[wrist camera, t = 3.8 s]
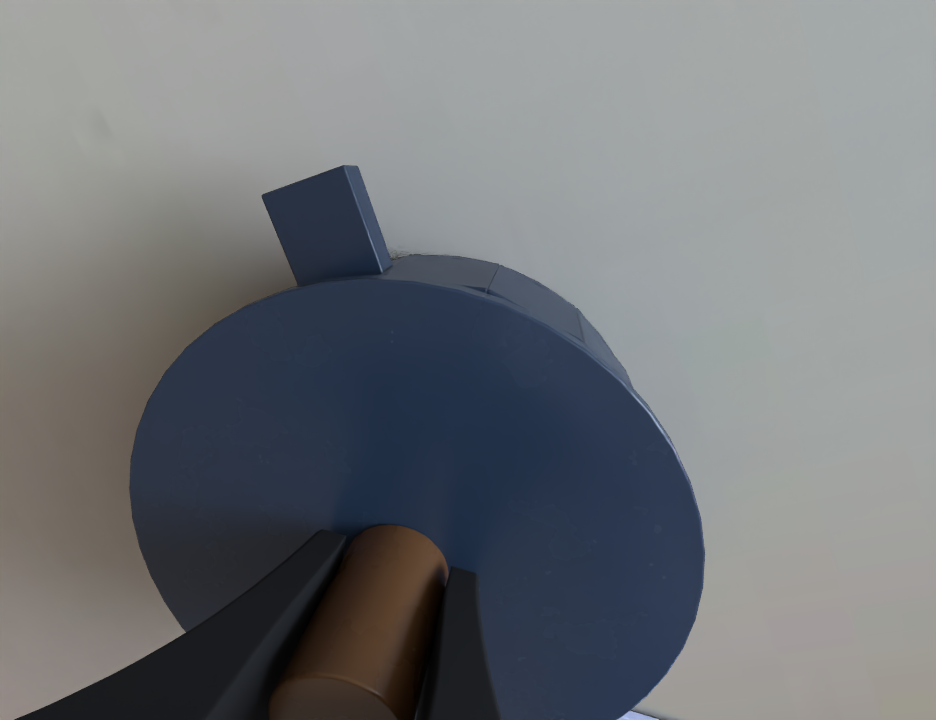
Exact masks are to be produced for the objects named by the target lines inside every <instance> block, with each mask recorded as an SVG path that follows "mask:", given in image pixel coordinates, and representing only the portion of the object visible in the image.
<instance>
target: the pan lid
mask: <svg viewBox="0 0 936 720" xmlns="http://www.w3.org/2000/svg"><path fill="white" fill-rule="evenodd" d="M129 490H130V499H131V509H132V518H133V522H134V526H135V531H136V535H137V539H138V543H139V547H140V550H141V552H142V555H143V557H144V560H145V562H146V565H147V568H148V570H149V573H150V575H151V577H152V579H153V581H154V583H155V585H156V587H157V589H158V590H159V592H160V594H161V596H162V598H163V600H164V602H165V603H166V605H167V606H168V608H169V609H170V611H171V612H172V614H173V615H174V616H175V618H176V619H177V621H178V622H179V624H180V625H181V627H182V628H183V629H184V630H185V632H188V631H189V630H191V629H192V628H194V627H196V626H197V625H199V624H200V623H202V622H203V621H205V620H206V619H208V618H209V617H211V616H212V615H214V614H215V613H217V612H218V611H219V610H221V609H222V608H223V607H225V606H226V605H228V604H229V603H230V602H232V601H233V600H235V599H236V598H237V597H239V596H240V595H242V594H243V593H244V592H246V591H247V590H248V589H250V588H251V587H252V586H254V585H255V584H256V583H257V582H259V581H260V580H261V579H262V578H264V577H265V576H266V575H267V574H269V573H270V572H271V571H272V570H274V569H275V568H276V567H277V566H279V565H280V564H281V563H282V562H283V561H285V560H286V559H287V558H288V557H289V556H290V555H292V554H293V553H294V552H295V551H296V550H297V549H298V548H300V547H301V546H302V545H303V544H304V543H305V542H306V541H307V540H308V539H310V538H311V537H312V536H313V535H314V534H315V533H316V532H317V531H319V530H321V529H324V530H327V531H331V532H334V533H338V534H341V535H345V536H346V540H345V546H344V552H343V558H342V561H341V563H340V565H339V567H338V568H337V570H336V572H335V574H334V576H333V578H332V580H331V582H330V584H329V586H328V587H327V589H326V591H325V593H324V595H323V597H322V599H321V601H320V603H319V605H318V606H317V608H316V610H315V612H314V614H313V616H312V618H311V620H310V622H309V624H308V625H307V627H306V629H305V631H304V633H303V635H302V637H301V639H300V641H299V643H298V644H297V646H296V648H295V650H294V652H293V654H292V656H291V658H290V660H289V662H288V663H287V665H286V667H285V669H284V671H283V673H282V675H281V677H280V679H279V681H278V682H277V684H276V686H275V688H274V690H273V692H272V694H271V696H270V699H269V704H268V717H269V720H416V715H417V709H418V704H419V699H420V695H421V691H422V687H423V683H424V679H425V675H426V670H427V666H428V662H429V658H430V654H431V650H432V645H433V640H434V635H435V630H436V624H437V620H438V616H439V612H440V608H441V603H442V599H443V595H444V591H445V587H446V583H447V580H448V576H449V572H450V569H451V566H453V567H457V568H460V569H464V570H467V571H471V572H474V573H476V574H477V575H478V577H479V596H480V609H481V618H482V626H483V633H484V639H485V644H486V650H487V655H488V661H489V666H490V670H491V675H492V680H493V684H494V688H495V692H496V696H497V700H498V704H499V708H500V711H501V715H502V719H503V720H617V719H619V718H621V717H622V716H624V715H625V714H626V713H627V712H629V711H630V710H631V709H632V708H633V707H635V706H636V705H637V704H638V703H639V702H641V701H642V700H643V699H644V698H645V697H647V695H648V694H649V693H650V692H651V691H652V690H653V689H654V688H655V686H656V685H657V684H658V683H659V682H660V681H661V680H662V679H663V678H664V676H665V675H666V674H667V673H668V671H669V670H670V668H671V666H672V665H673V663H674V662H675V660H676V659H677V657H678V655H679V654H680V652H681V651H682V649H683V647H684V645H685V643H686V640H687V638H688V636H689V633H690V631H691V629H692V626H693V624H694V622H695V619H696V615H697V611H698V606H699V602H700V598H701V594H702V589H703V579H704V562H705V549H704V540H703V532H702V523H701V517H700V513H699V510H698V506H697V503H696V499H695V496H694V492H693V489H692V485H691V482H690V480H689V478H688V476H687V473H686V471H685V469H684V467H683V465H682V463H681V461H680V458H679V456H678V454H677V452H676V450H675V448H674V446H673V443H672V441H671V439H670V437H669V436H668V434H667V433H666V431H665V430H664V428H663V427H662V425H661V424H660V422H659V421H658V419H657V418H656V416H655V415H654V413H653V412H652V410H651V409H650V407H649V406H648V404H647V403H646V402H645V401H644V400H643V399H642V398H641V396H640V395H639V394H638V393H637V392H636V391H635V390H634V389H633V388H632V386H631V385H630V384H629V383H628V382H627V381H626V380H625V379H624V378H623V376H622V375H621V374H620V373H619V372H618V371H617V370H615V369H614V368H613V367H612V366H611V365H610V364H608V363H607V362H606V361H605V360H604V359H603V358H601V357H600V356H599V355H598V354H597V353H595V352H594V351H593V350H592V349H591V348H590V347H588V346H587V345H586V344H585V343H583V342H582V341H580V340H578V339H577V338H575V337H574V336H572V335H571V334H569V333H568V332H566V331H564V330H563V329H561V328H560V327H558V326H557V325H555V324H554V323H552V322H550V321H549V320H547V319H545V318H543V317H541V316H539V315H537V314H535V313H533V312H530V311H528V310H526V309H524V308H522V307H520V306H518V305H516V304H514V303H511V302H509V301H507V300H505V299H502V298H499V297H496V296H493V295H489V294H486V293H483V292H480V291H477V290H474V289H471V288H468V287H465V286H462V285H456V284H451V283H446V282H440V281H435V280H430V279H424V278H419V277H404V276H385V275H365V276H353V277H341V278H330V279H326V280H321V281H317V282H312V283H308V284H304V285H299V286H295V287H291V288H288V289H286V290H283V291H280V292H278V293H275V294H273V295H270V296H268V297H265V298H263V299H260V300H257V301H255V302H253V303H250V304H248V305H246V306H244V307H243V308H241V309H239V310H237V311H236V312H234V313H232V314H231V315H229V316H227V317H225V318H224V319H222V320H220V321H219V322H217V323H215V324H214V325H212V326H211V327H210V328H209V329H208V330H206V331H205V332H204V333H203V334H202V335H200V336H199V337H198V338H197V339H196V340H194V341H193V342H192V343H191V344H189V345H188V346H187V347H186V348H185V349H184V351H183V352H182V353H181V354H180V355H179V356H178V358H177V359H176V360H175V361H174V362H173V363H172V365H171V366H170V367H169V368H168V369H167V370H166V372H165V373H164V375H163V376H162V378H161V380H160V381H159V383H158V385H157V386H156V388H155V390H154V391H153V393H152V395H151V396H150V398H149V400H148V402H147V404H146V407H145V410H144V412H143V415H142V417H141V420H140V423H139V425H138V428H137V431H136V436H135V441H134V446H133V451H132V456H131V465H130V488H129Z"/></svg>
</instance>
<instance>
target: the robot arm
mask: <svg viewBox="0 0 936 720" xmlns="http://www.w3.org/2000/svg"><path fill="white" fill-rule="evenodd" d="M345 540H346V536H345V535H341V534H338V533H334V532H331V531H327V530H324V529H321V530H319V531H317V532H316V533H315V534H314V535H313V536H312V537H311V538H310V539H308V540H307V541H306V542H305V543H304V544H303V545H302V546H301V547H300V548H298V549H297V550H296V551H295V552H294V553H293V554H292V555H290V556H289V557H288V558H287V559H286V560H285V561H283V562H282V563H281V564H280V565H279V566H277V567H276V568H275V569H274V570H272V571H271V572H270V573H269V574H267V575H266V576H265V577H264V578H262V579H261V580H260V581H259V582H257V583H256V584H255V585H254V586H252V587H251V588H250V589H248V590H247V591H246V592H244V593H243V594H242V595H240V596H239V597H237V598H236V599H235V600H233V601H232V602H230V603H229V604H228V605H226V606H225V607H223V608H222V609H221V610H219V611H218V612H217V613H215V614H214V615H212V616H211V617H209V618H208V619H206V620H205V621H203V622H202V623H200V624H199V625H197V626H196V627H194V628H192V629H191V630H189V631H188V632H186V633H184V634H183V635H181V636H180V637H178V638H176V639H175V640H173V641H172V642H170V643H168V644H167V645H165V646H163V647H161V648H160V649H158V650H156V651H154V652H152V653H151V654H149V655H147V656H145V657H144V658H142V659H140V660H138V661H137V662H135V663H133V664H131V665H129V666H127V667H126V668H124V669H122V670H120V671H118V672H116V673H114V674H112V675H110V676H108V677H106V678H104V679H102V680H100V681H98V682H96V683H94V684H92V685H90V686H88V687H86V688H83V689H81V690H79V691H77V692H75V693H73V694H71V695H69V696H67V697H65V698H63V699H61V700H59V701H57V702H54V703H52V704H50V705H48V706H45V707H43V708H41V709H39V710H36V711H34V712H31V713H29V714H27V715H24V716H22V717H19V718H17V719H15V720H269V717H268V704H269V699H270V696H271V694H272V692H273V690H274V688H275V686H276V684H277V682H278V681H279V679H280V677H281V675H282V673H283V671H284V669H285V667H286V665H287V663H288V662H289V660H290V658H291V656H292V654H293V652H294V650H295V648H296V646H297V644H298V643H299V641H300V639H301V637H302V635H303V633H304V631H305V629H306V627H307V625H308V624H309V622H310V620H311V618H312V616H313V614H314V612H315V610H316V608H317V606H318V605H319V603H320V601H321V599H322V597H323V595H324V593H325V591H326V589H327V587H328V586H329V584H330V582H331V580H332V578H333V576H334V574H335V572H336V570H337V568H338V567H339V565H340V563H341V561H342V558H343V552H344V546H345ZM416 720H503V719H502V715H501V711H500V708H499V704H498V700H497V696H496V692H495V688H494V684H493V680H492V675H491V670H490V666H489V661H488V655H487V650H486V644H485V639H484V633H483V626H482V618H481V609H480V596H479V577H478V575H477V574H476V573H474V572H471V571H467V570H464V569H460V568H457V567H453V566H451V569H450V572H449V576H448V580H447V583H446V587H445V591H444V595H443V599H442V603H441V608H440V612H439V616H438V620H437V624H436V630H435V635H434V640H433V645H432V650H431V654H430V658H429V662H428V666H427V670H426V675H425V679H424V683H423V687H422V691H421V695H420V699H419V704H418V709H417V715H416ZM617 720H660V719H656V718H653V717H650V716H646V715H643V714H639V713H636V712H633V711H629V712H627V713H626V714H625V715H624V716H622V717H621V718H619V719H617Z"/></svg>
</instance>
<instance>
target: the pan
mask: <svg viewBox="0 0 936 720" xmlns="http://www.w3.org/2000/svg"><path fill="white" fill-rule="evenodd" d="M262 199H263V202H264V204H265V206H266V209H267V211H268V214H269V216H270V218H271V221H272V223H273V226H274V228H275V231H276V233H277V235H278V238H279V240H280V243H281V245H282V248H283V250H284V252H285V255H286V257H287V260H288V262H289V264H290V267H291V269H292V272H293V274H294V277H295V279H296V281H297V284H298V286H299V285H304V284H308V283H312V282H317V281H321V280H326V279H330V278H341V277H353V276H365V275H385V276H404V277H419V278H424V279H430V280H435V281H440V282H446V283H451V284H456V285H462V286H465V287H468V288H471V289H474V290H477V291H480V292H483V293H486V294H489V295H493V296H496V297H499V298H502V299H505V300H507V301H509V302H511V303H514V304H516V305H518V306H520V307H522V308H524V309H526V310H528V311H530V312H533V313H535V314H537V315H539V316H541V317H543V318H545V319H547V320H549V321H550V322H552V323H554V324H555V325H557V326H558V327H560V328H561V329H563V330H564V331H566V332H568V333H569V334H571V335H572V336H574V337H575V338H577V339H578V340H580V341H582V342H583V343H585V344H586V345H587V346H588V347H590V348H591V349H592V350H593V351H594V352H595V353H597V354H598V355H599V356H600V357H601V358H603V359H604V360H605V361H606V362H607V363H608V364H610V365H611V366H612V367H613V368H614V369H615V370H617V371H618V372H619V373H620V374H621V375H622V376H623V378H624V379H625V380H626V381H627V382H628V383H629V384H630V385H631V386H632V384H631V381H630V379H629V376H628V374H627V372H626V370H625V369H624V367H623V366H622V365H621V363H620V362H619V361H618V360H617V358H616V357H615V356H614V354H613V353H612V351H611V350H610V348H609V347H608V345H607V344H606V342H605V341H604V339H603V338H602V336H601V335H600V334H599V333H598V331H597V330H596V329H595V328H594V327H593V326H592V325H591V324H590V323H589V321H588V320H587V319H586V318H585V317H584V316H583V314H582V313H581V312H580V311H579V309H578V308H575V306H574V305H572V304H571V303H569V302H567V301H566V300H565V299H563V298H562V297H561V296H559V295H558V294H556V293H555V292H553V291H552V290H550V289H549V288H547V287H545V286H544V285H542V284H541V283H539V282H537V281H535V280H533V279H531V278H529V277H527V276H525V275H523V274H521V273H518V272H516V271H514V270H512V269H509V268H506V267H504V266H502V265H499V264H497V263H490V262H487V261H482V260H476V259H471V258H465V257H460V256H442V255H418V254H414V255H408V256H405V257H402V258H399V259H395V260H391V259H390V256H389V253H388V250H387V247H386V244H385V242H384V239H383V236H382V233H381V230H380V227H379V225H378V222H377V219H376V216H375V213H374V210H373V207H372V205H371V202H370V199H369V196H368V193H367V190H366V188H365V185H364V182H363V179H362V176H361V173H360V171H359V168H358V166H349V165H343V166H340V167H337V168H334V169H331V170H329V171H326V172H323V173H320V174H318V175H315V176H312V177H309V178H307V179H304V180H301V181H298V182H295V183H293V184H290V185H287V186H284V187H282V188H279V189H276V190H273V191H271V192H268V193H265V194H263V195H262ZM632 388H633V386H632Z"/></svg>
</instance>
